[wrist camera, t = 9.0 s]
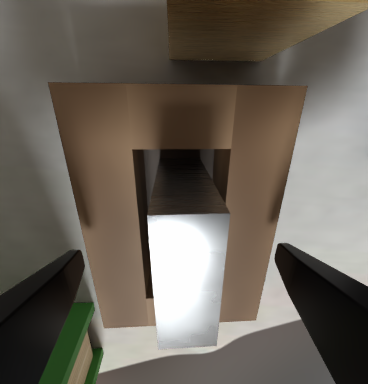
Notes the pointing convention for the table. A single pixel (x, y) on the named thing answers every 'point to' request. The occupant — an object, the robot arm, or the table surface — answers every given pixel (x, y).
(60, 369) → the hardback book
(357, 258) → the table surface
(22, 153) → the table surface
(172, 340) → the block
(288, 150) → the socket block
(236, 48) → the square bit
